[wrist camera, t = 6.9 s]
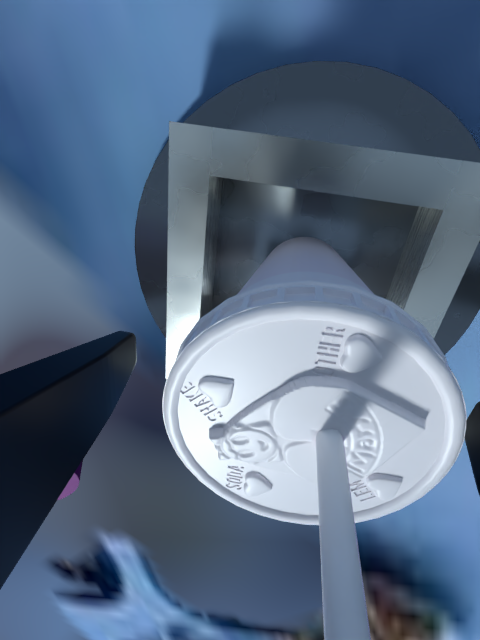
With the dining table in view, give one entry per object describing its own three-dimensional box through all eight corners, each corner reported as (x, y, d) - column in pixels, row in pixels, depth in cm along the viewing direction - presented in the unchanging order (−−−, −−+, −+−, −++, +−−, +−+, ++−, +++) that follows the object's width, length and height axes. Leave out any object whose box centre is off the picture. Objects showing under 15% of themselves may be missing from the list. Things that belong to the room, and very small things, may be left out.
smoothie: (384, 323, 16) (645, 904, 4) (255, 346, 18) (153, 796, 6) (364, 184, 13) (965, 614, 1) (215, 227, 15) (-134, 582, 3)
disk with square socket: (580, 91, 12) (660, 78, 9) (411, 426, 19) (428, 471, 17) (134, 41, 13) (92, 16, 10) (143, 372, 21) (120, 405, 18)
